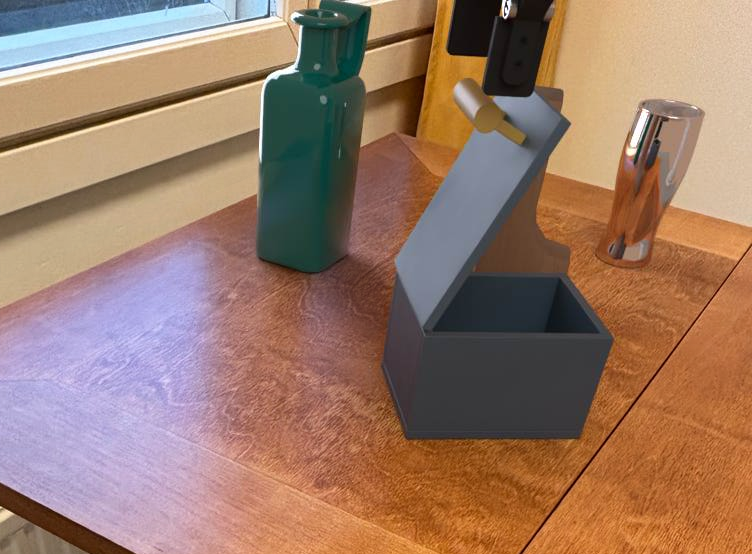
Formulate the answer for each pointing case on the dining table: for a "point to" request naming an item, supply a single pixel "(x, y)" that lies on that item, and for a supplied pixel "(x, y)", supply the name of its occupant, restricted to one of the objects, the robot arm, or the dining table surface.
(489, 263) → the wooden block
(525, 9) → the robot arm
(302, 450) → the dining table surface
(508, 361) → the chest
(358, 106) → the green bottle
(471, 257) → the lid
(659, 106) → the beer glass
